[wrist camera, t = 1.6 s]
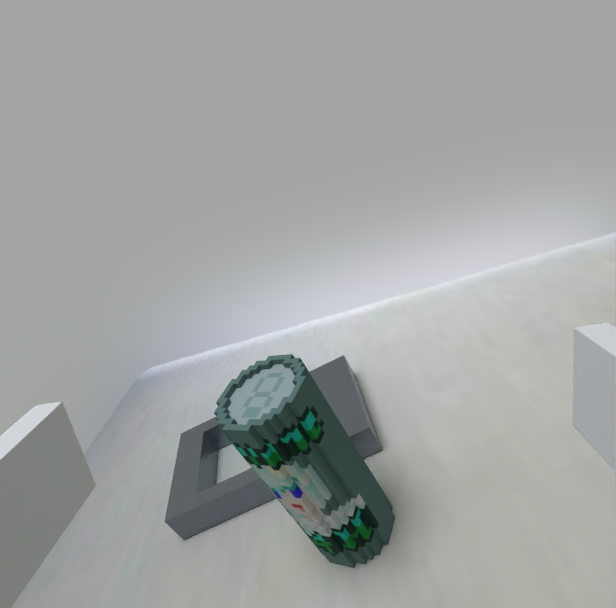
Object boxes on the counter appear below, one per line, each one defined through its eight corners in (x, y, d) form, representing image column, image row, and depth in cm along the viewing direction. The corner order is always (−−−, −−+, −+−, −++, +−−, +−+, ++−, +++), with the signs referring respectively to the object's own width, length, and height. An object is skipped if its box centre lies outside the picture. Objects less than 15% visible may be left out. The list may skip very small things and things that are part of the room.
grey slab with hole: (355, 375, 48) (344, 355, 47) (382, 449, 38) (369, 427, 37) (196, 450, 50) (181, 433, 49) (183, 539, 40) (164, 521, 39)
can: (307, 556, 34) (198, 428, 27) (334, 484, 38) (246, 358, 31) (380, 574, 30) (276, 432, 23) (401, 492, 34) (318, 352, 28)
